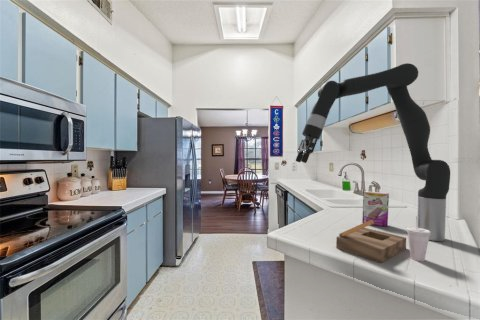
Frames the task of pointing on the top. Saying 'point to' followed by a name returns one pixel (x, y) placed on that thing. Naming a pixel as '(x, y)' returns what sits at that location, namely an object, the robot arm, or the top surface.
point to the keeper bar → (356, 228)
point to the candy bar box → (375, 208)
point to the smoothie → (418, 242)
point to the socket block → (372, 244)
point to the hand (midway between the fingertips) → (300, 162)
